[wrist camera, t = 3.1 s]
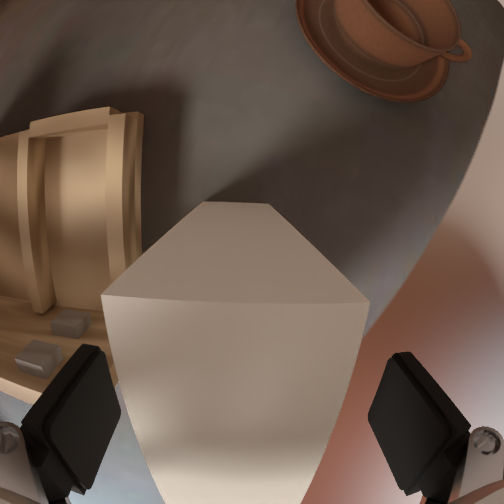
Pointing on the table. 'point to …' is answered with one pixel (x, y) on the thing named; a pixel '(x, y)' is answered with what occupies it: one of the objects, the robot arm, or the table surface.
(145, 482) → the table surface
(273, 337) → the cream chamfered block
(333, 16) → the cup and saucer
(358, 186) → the table surface
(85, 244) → the cabinet
